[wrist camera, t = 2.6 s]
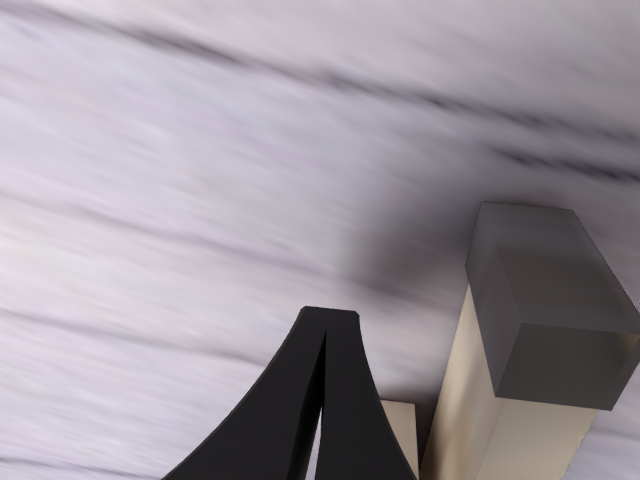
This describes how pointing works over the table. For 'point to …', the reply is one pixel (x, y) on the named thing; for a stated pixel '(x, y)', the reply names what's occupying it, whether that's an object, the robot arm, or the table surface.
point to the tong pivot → (404, 429)
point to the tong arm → (530, 349)
